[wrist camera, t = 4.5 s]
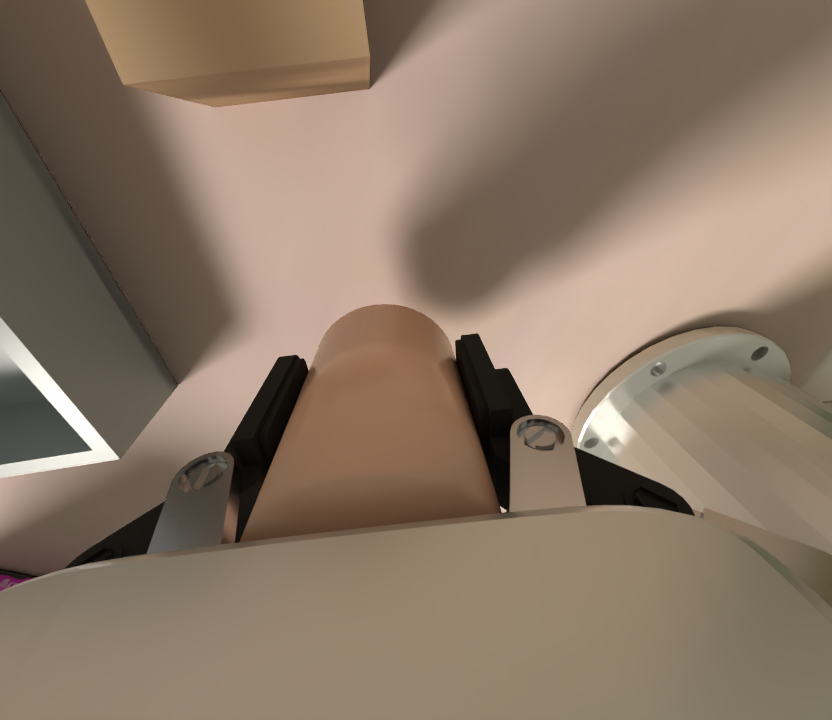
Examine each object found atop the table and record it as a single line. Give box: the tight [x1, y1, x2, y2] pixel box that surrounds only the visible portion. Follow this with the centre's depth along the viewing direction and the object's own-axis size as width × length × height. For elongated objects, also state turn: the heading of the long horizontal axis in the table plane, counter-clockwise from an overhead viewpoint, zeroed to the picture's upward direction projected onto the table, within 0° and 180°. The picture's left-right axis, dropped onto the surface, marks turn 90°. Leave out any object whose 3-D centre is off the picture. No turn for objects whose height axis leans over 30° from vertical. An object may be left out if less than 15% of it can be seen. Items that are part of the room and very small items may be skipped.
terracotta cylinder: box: [240, 304, 502, 542], centre depth 9 cm, size 5×5×7 cm
